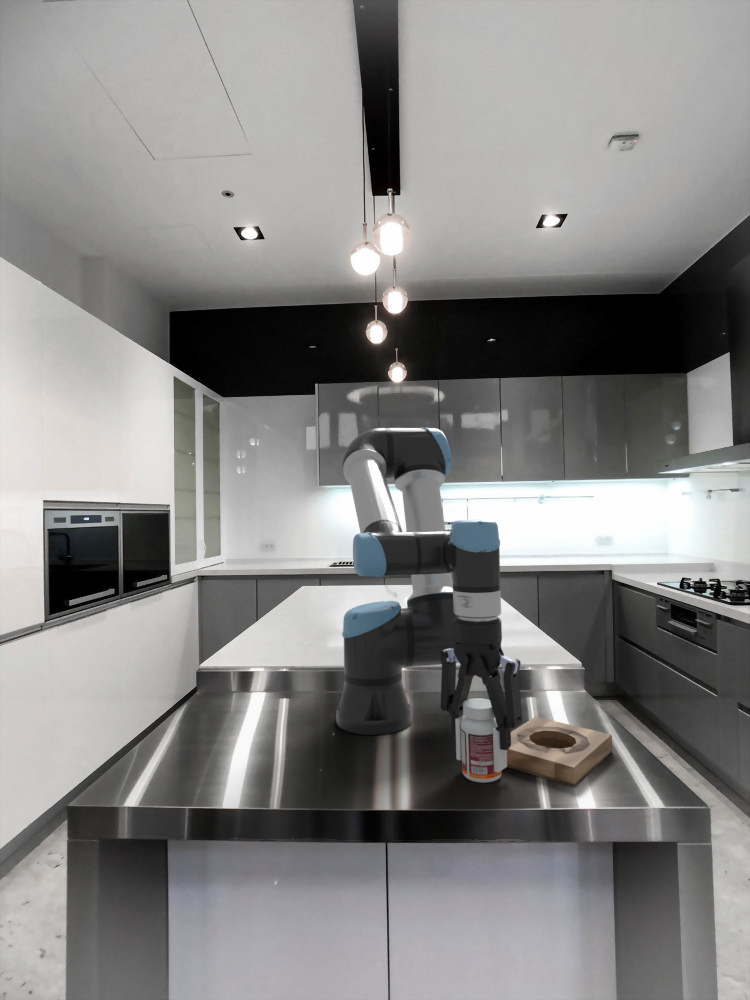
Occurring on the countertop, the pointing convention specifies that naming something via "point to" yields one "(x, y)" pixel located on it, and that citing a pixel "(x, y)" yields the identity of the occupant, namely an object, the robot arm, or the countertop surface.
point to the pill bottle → (478, 741)
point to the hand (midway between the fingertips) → (481, 762)
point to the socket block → (557, 750)
